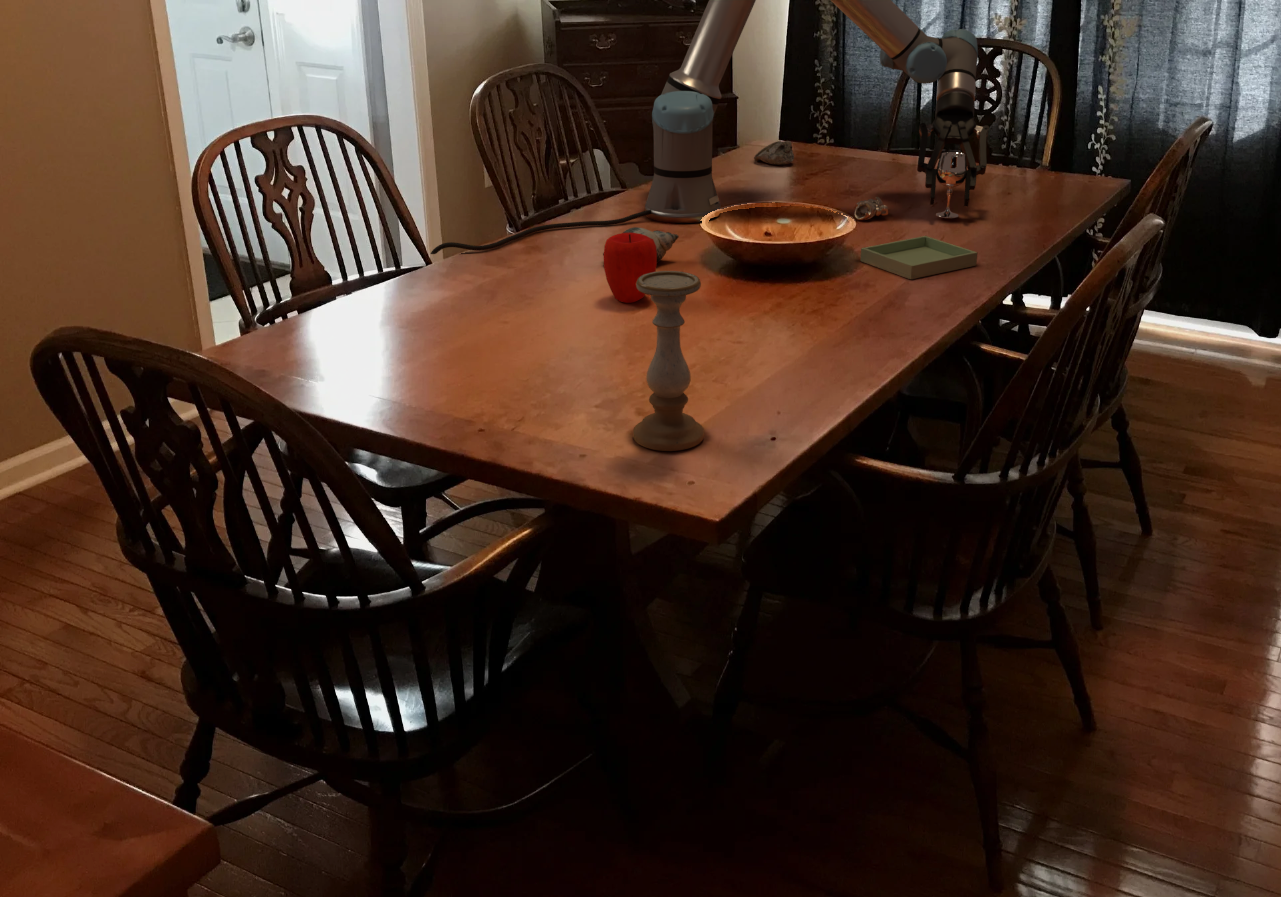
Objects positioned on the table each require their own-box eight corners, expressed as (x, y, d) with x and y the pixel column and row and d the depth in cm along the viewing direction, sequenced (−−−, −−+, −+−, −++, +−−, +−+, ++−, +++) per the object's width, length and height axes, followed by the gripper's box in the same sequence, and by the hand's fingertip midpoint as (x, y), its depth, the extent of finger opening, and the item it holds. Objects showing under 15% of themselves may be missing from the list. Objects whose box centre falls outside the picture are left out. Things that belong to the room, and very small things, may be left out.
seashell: (614, 264, 230) (677, 269, 226) (599, 258, 223) (663, 263, 219) (619, 229, 230) (681, 234, 226) (604, 222, 223) (667, 226, 219)
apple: (667, 302, 205) (667, 236, 201) (620, 311, 202) (619, 244, 197) (640, 288, 212) (639, 224, 208) (594, 296, 209) (592, 232, 204)
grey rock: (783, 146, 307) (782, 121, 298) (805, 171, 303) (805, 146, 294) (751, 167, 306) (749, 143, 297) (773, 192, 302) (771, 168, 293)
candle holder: (690, 456, 152) (691, 293, 143) (622, 446, 155) (619, 286, 146) (713, 428, 159) (715, 272, 151) (648, 419, 162) (647, 265, 154)
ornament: (879, 224, 248) (880, 205, 247) (847, 219, 251) (848, 201, 250) (895, 215, 254) (896, 197, 253) (863, 211, 258) (864, 193, 256)
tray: (910, 279, 215) (911, 265, 214) (860, 261, 225) (860, 248, 224) (976, 265, 222) (977, 252, 221) (924, 248, 232) (925, 235, 231)
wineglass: (960, 211, 253) (966, 151, 248) (963, 219, 248) (970, 157, 243) (930, 211, 254) (936, 151, 249) (933, 218, 249) (939, 157, 244)
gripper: (1001, 114, 256) (996, 214, 248) (906, 111, 259) (899, 209, 251) (1006, 91, 249) (1001, 193, 241) (908, 88, 252) (901, 189, 245)
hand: (949, 201), depth 246 cm, fingers closed on wineglass, 6 cm apart
